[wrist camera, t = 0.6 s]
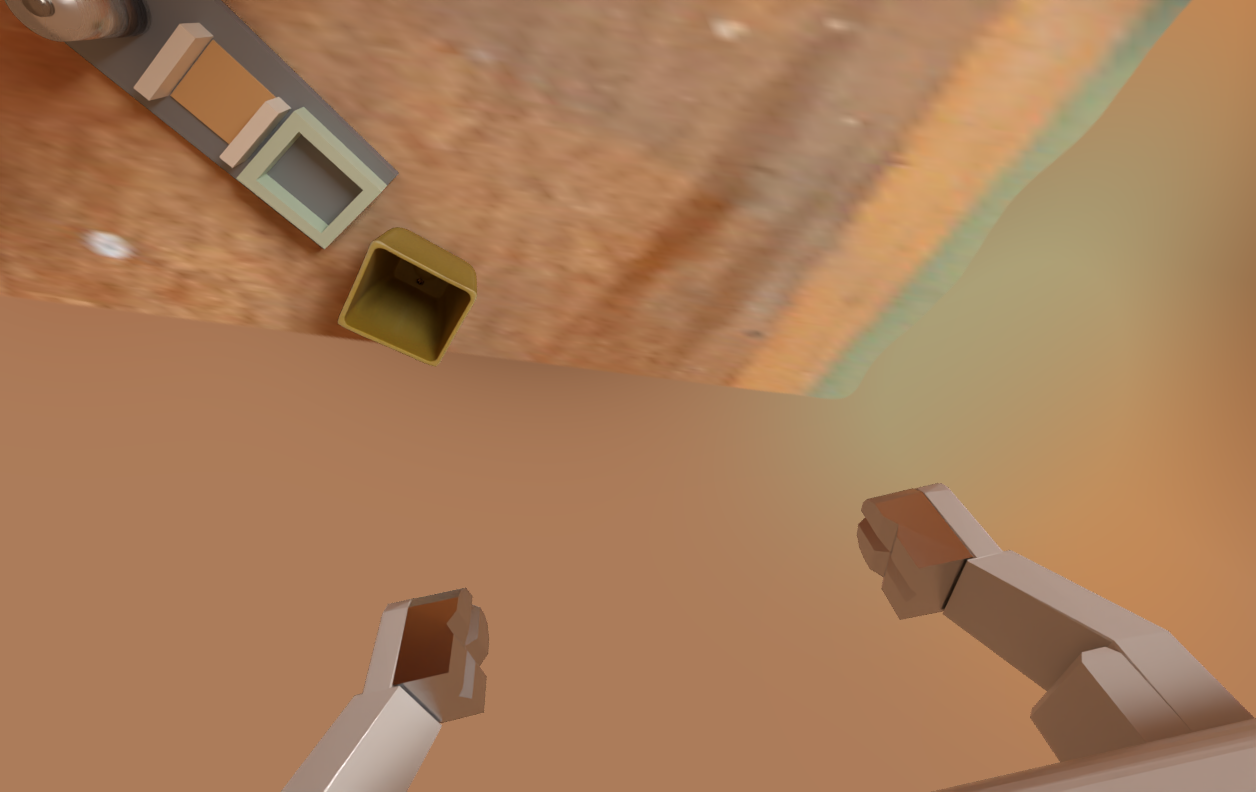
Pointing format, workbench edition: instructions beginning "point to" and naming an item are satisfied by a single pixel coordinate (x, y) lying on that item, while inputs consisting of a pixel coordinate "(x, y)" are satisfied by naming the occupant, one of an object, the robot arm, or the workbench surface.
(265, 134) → the cradle
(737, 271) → the workbench surface
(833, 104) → the workbench surface
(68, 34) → the cell
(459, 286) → the flower pot
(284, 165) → the board
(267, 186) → the pale green flat frame
